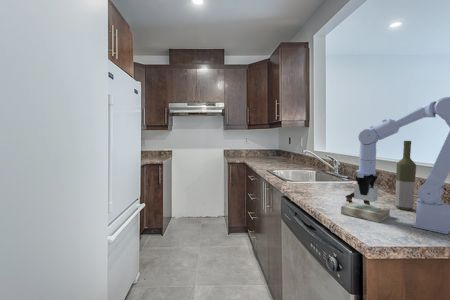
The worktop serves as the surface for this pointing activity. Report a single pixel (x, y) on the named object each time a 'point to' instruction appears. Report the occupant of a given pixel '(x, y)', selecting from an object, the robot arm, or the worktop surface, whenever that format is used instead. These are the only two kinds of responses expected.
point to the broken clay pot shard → (349, 198)
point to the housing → (370, 195)
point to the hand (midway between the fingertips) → (365, 194)
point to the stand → (365, 211)
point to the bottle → (405, 179)
